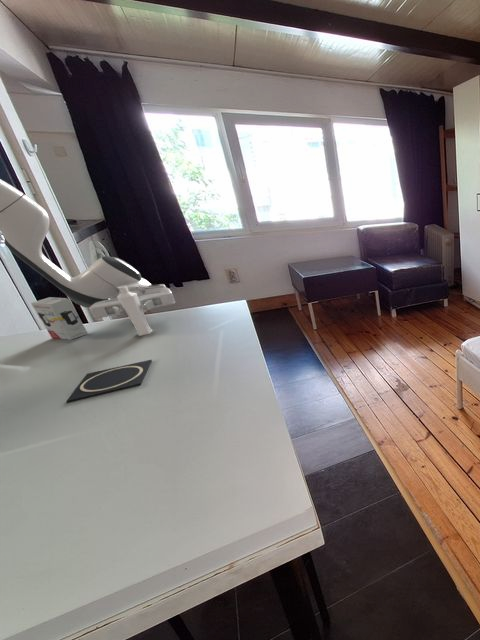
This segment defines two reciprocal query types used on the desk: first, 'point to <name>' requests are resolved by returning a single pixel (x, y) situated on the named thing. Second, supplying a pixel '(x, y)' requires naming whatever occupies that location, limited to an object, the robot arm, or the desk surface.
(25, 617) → the desk surface
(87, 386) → the circle mat
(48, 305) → the ink box
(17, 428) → the desk surface
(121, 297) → the perfume bottle
